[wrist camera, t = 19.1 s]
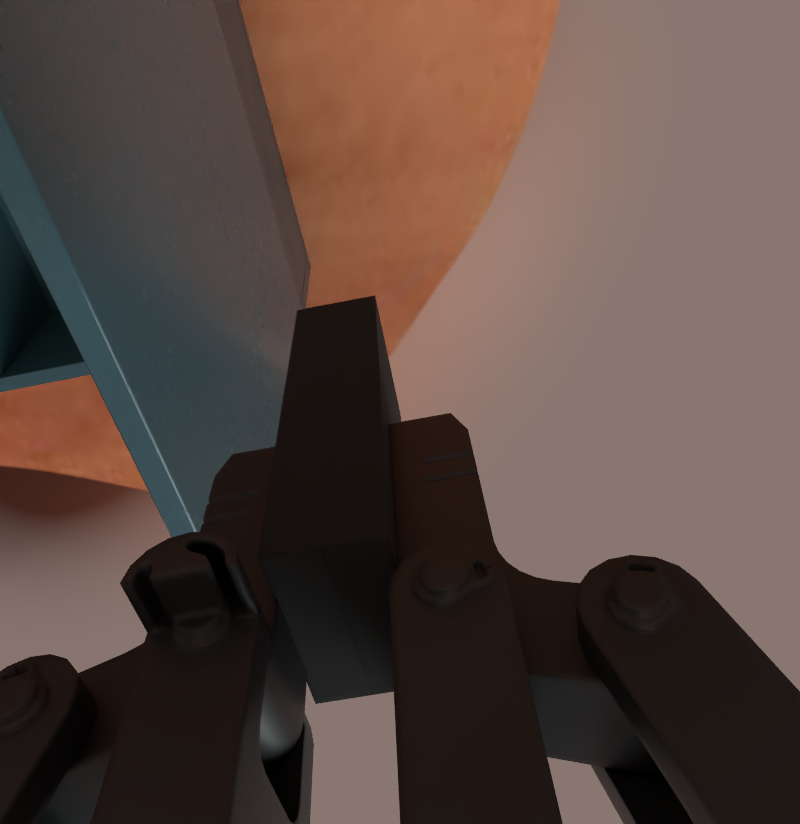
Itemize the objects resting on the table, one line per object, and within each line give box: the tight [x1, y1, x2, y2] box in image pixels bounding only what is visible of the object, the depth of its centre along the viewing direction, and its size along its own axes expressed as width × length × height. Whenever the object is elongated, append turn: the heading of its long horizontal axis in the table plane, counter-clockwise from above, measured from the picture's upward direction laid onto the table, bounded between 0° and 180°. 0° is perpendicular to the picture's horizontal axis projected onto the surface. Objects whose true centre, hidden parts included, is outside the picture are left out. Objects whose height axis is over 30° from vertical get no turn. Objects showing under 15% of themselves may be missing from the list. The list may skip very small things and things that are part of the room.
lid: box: [0, 0, 302, 537], centre depth 24 cm, size 18×19×1 cm
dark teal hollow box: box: [0, 0, 310, 392], centre depth 36 cm, size 17×19×9 cm
